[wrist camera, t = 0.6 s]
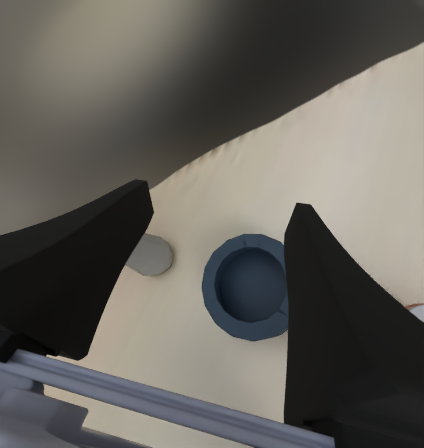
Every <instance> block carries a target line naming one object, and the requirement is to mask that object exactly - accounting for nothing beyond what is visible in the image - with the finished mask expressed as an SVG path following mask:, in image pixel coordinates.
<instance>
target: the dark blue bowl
mask: <svg viewBox="0 0 424 448" xmlns="http://www.w3.org/2000/svg"><path fill="white" fill-rule="evenodd" d="M202 292H203V298H204V304H205V307H206V308H207V310H208V312H209V313H210V315H211V317H212V319H213V320H214V322H215V323H216V324H217V325H218V326H219V327H220V328H222V329H223V330H224V331H226V332H227V333H228V334H230V335H231V336H233V337H236V338H241V339H245V340H249V341H258V340H263V339H267V338H272V337H276V336H279V335H281V334H283V333H284V332H285V331H287V330H288V291H287V281H286V271H285V260H284V245H283V244H282V243H281V242H279V241H277V240H275V239H272V238H270V237H267V236H265V235H262V234H243V235H240V236H237V237H235V238H232V239H229V240H227V241H226V242H225V243H224V244H222V245H221V246H220V247H219V248H218V249H217V250H216V251H214V252H213V254H212V256H211V258H210V259H209V261H208V263H207V265H206V267H205V270H204V276H203V281H202Z"/></svg>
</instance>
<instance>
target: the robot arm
mask: <svg viewBox="0 0 424 448" xmlns="http://www.w3.org/2000/svg"><path fill="white" fill-rule="evenodd" d="M153 214H154V210H153V206H152V201H151V197H150V192H149V188H148V184H147V181H143V180H133V181H131V182H129V183H127V184H125V185H123V186H121V187H119V188H117V189H115V190H113V191H112V192H109V193H108V194H106V195H104V196H102V197H100V198H98V199H96V200H94V201H92V202H90V203H88V204H86V205H84V206H82V207H79V208H77V209H75V210H73V211H71V212H68V213H66V214H64V215H61V216H58V217H56V218H53V219H51V220H48V221H45V222H42V223H39V224H37V225H33V226H30V227H27V228H24V229H21V230H18V231H15V232H11V233H8V234H4V235H0V448H152V447H149V446H146V445H142V444H139V443H136V442H133V441H129V440H126V439H122V438H119V437H116V436H112V435H109V434H106V433H102V432H99V431H95V430H92V429H89V428H85V427H82V424H83V422H84V420H85V418H86V416H87V413H88V409H87V408H84V407H81V406H78V405H74V404H71V403H68V402H65V401H61V400H58V399H55V398H51V397H48V396H45V395H44V385H43V384H46V385H49V386H52V387H56V388H59V389H62V390H66V391H69V392H72V393H76V394H79V395H82V396H85V397H89V398H92V399H95V400H99V401H102V402H105V403H109V404H112V405H115V406H119V407H122V408H125V409H129V410H132V411H135V412H138V413H142V414H145V415H148V416H152V417H155V418H158V419H162V420H165V421H168V422H172V423H175V424H178V425H182V426H185V427H188V428H192V429H195V430H198V431H201V432H205V433H208V434H211V435H215V436H218V437H221V438H225V439H228V440H231V441H235V442H238V443H241V444H245V445H248V446H251V447H254V448H424V322H423V321H421V320H420V319H419V318H417V317H416V316H415V315H414V314H412V313H411V312H410V311H409V310H408V309H406V308H405V307H404V306H403V305H402V304H400V303H399V302H398V301H397V300H396V299H395V298H393V297H392V296H391V295H390V294H389V293H388V292H386V291H385V290H384V289H383V288H382V287H381V286H380V285H379V284H378V283H377V282H376V281H374V280H373V279H372V278H371V277H370V276H369V275H368V274H367V273H366V272H365V271H364V270H363V269H362V268H361V267H360V266H359V265H358V264H357V262H356V261H355V260H354V259H353V258H352V257H351V256H350V255H349V254H348V252H347V251H346V250H345V249H344V248H343V247H342V245H341V244H340V243H339V242H338V241H337V239H336V238H335V237H334V236H333V234H332V233H331V232H330V230H329V229H328V228H327V226H326V225H325V224H324V222H323V221H322V220H321V218H320V217H319V215H318V214H317V213H316V211H315V210H314V208H313V207H312V206H311V205H310V204H303V203H296V206H295V208H294V211H293V213H292V216H291V219H290V221H289V224H288V226H287V229H286V232H285V235H284V260H285V271H286V281H287V291H288V351H287V373H286V388H285V403H284V424H283V423H280V422H276V421H273V420H269V419H266V418H262V417H258V416H255V415H251V414H248V413H244V412H241V411H237V410H234V409H230V408H227V407H223V406H219V405H216V404H212V403H209V402H205V401H202V400H198V399H195V398H191V397H187V396H184V395H180V394H177V393H173V392H170V391H166V390H163V389H159V388H156V387H152V386H148V385H145V384H141V383H138V382H134V381H131V380H127V379H124V378H120V377H116V376H113V375H109V374H106V373H102V372H99V371H95V370H92V369H88V368H84V367H81V366H77V365H74V364H70V363H67V362H63V361H60V360H56V359H53V358H49V357H46V355H47V354H48V355H51V356H55V357H56V356H58V355H59V356H62V357H66V358H70V359H73V360H77V361H78V360H81V359H82V358H84V357H85V356H87V355H88V352H89V349H90V346H91V343H92V340H93V337H94V335H95V332H96V329H97V326H98V324H99V321H100V319H101V316H102V314H103V311H104V309H105V306H106V304H107V302H108V299H109V297H110V295H111V292H112V290H113V288H114V286H115V284H116V282H117V279H118V277H119V275H120V273H121V271H122V269H123V267H124V266H125V264H126V262H127V261H128V259H129V257H130V256H131V254H132V252H133V251H134V249H135V248H136V246H137V244H138V243H139V241H140V240H141V238H142V236H143V235H144V233H145V231H146V230H147V228H148V225H149V223H150V221H151V219H152V216H153Z"/></svg>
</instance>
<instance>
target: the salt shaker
mask: <svg viewBox="0 0 424 448" xmlns="http://www.w3.org/2000/svg"><path fill="white" fill-rule="evenodd" d="M172 259H173V254H172V252H171V250H170V248H169V245H168V243H167V242H166V241H165V240H164V239H162V238H161V237H158V236H154V235H150V234H146V233H144V235H143V236H142V238H141V240H140V241H139V243H138V244H137V246H136V248H135V249H134V251H133V252H132V254H131V256H130V257H129V259H128V261H127V262H126V264H125V265H126V266H128V267H130V268H131V269H133V270H135V271H136V272H138V273H140V274H141V275H144V276H156V275H159V274H161V273H163V272H164V271H166V270H167V269H168V268H170V267H171V263H172Z"/></svg>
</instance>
